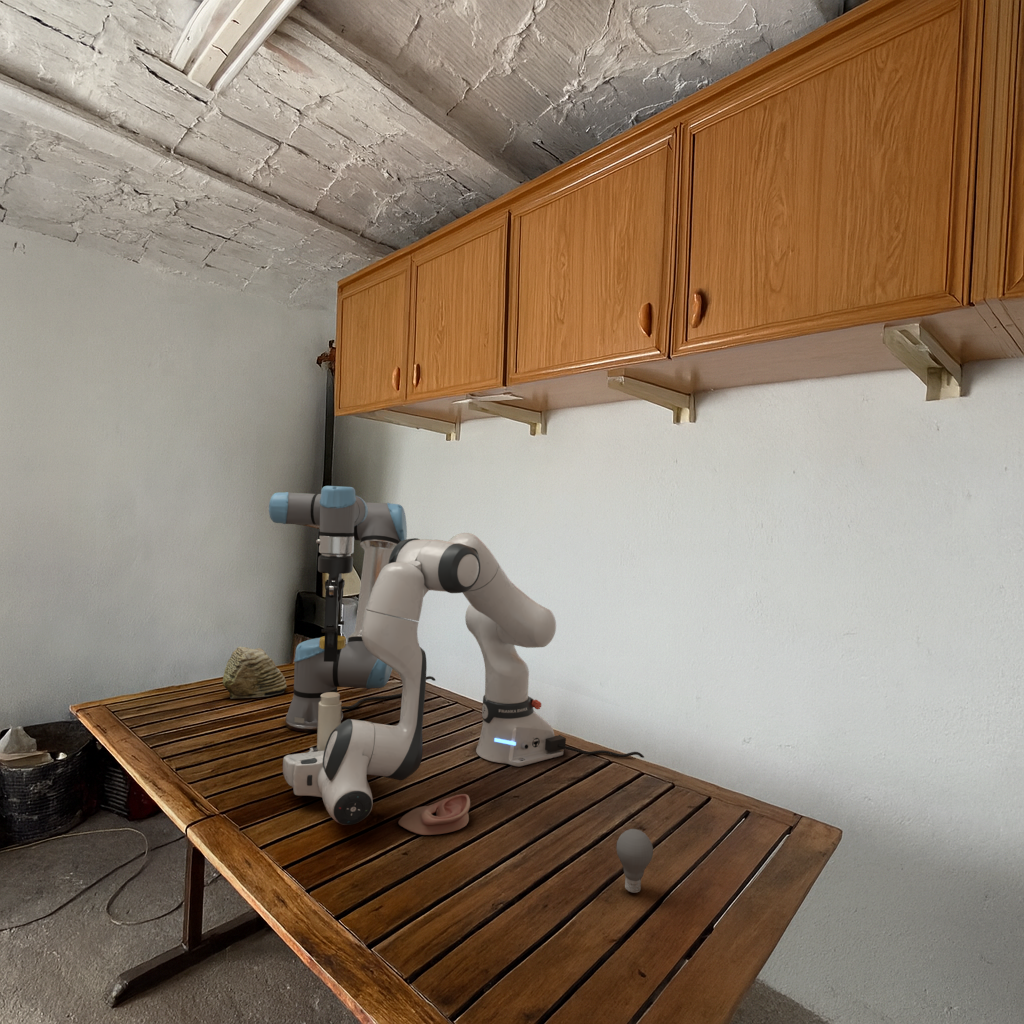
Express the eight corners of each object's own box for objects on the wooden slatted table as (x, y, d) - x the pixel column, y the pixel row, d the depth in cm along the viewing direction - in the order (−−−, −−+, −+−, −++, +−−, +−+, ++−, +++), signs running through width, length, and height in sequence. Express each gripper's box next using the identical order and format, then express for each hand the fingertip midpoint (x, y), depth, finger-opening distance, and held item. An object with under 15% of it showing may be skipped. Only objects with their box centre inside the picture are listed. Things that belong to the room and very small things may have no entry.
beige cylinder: (337, 771, 146) (340, 690, 146) (339, 781, 141) (343, 697, 141) (314, 774, 144) (318, 692, 144) (316, 783, 140) (319, 698, 139)
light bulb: (610, 879, 108) (613, 822, 108) (644, 879, 109) (647, 822, 109) (619, 902, 102) (622, 840, 102) (655, 901, 103) (658, 840, 103)
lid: (313, 647, 141) (313, 638, 141) (331, 642, 146) (332, 634, 146) (333, 651, 139) (333, 642, 139) (351, 646, 144) (351, 637, 144)
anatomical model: (392, 810, 121) (414, 784, 132) (391, 830, 121) (413, 803, 132) (459, 820, 118) (475, 792, 130) (458, 841, 118) (474, 812, 130)
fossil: (218, 695, 195) (220, 647, 195) (278, 685, 208) (279, 640, 207) (228, 703, 189) (230, 653, 188) (289, 692, 201) (290, 645, 201)
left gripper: (324, 550, 151) (320, 647, 151) (312, 558, 132) (308, 668, 133) (356, 551, 152) (352, 647, 152) (349, 559, 133) (345, 668, 134)
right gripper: (388, 752, 135) (373, 729, 148) (287, 765, 127) (280, 740, 139) (387, 781, 135) (372, 756, 148) (286, 796, 127) (279, 768, 139)
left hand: (332, 657), depth 142 cm, fingers closed on lid, 6 cm apart
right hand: (327, 748), depth 143 cm, fingers closed on beige cylinder, 5 cm apart
